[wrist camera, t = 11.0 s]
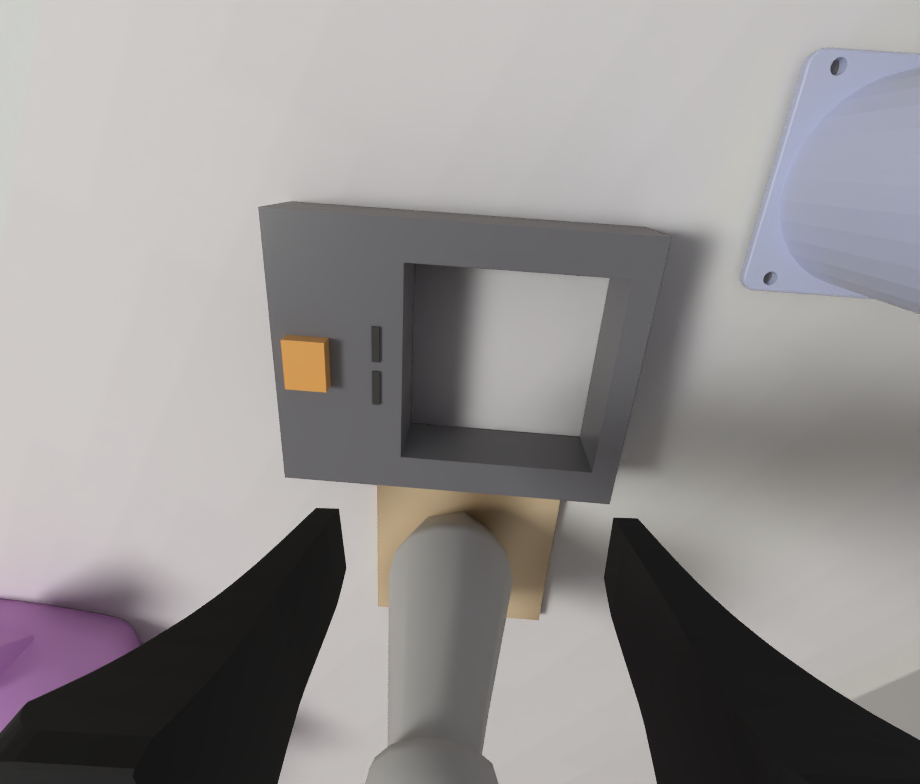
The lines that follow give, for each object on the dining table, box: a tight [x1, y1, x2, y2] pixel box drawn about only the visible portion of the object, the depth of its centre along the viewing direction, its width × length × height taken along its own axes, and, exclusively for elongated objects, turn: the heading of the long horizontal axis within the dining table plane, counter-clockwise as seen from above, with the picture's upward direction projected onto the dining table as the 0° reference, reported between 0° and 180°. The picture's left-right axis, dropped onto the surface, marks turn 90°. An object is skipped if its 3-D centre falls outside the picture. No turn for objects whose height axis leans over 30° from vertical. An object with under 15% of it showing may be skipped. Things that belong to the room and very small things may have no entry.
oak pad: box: [377, 485, 560, 620], centre depth 26 cm, size 9×9×1 cm
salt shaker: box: [365, 511, 513, 784], centre depth 20 cm, size 6×6×13 cm
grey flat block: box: [258, 202, 672, 504], centre depth 20 cm, size 14×11×4 cm
